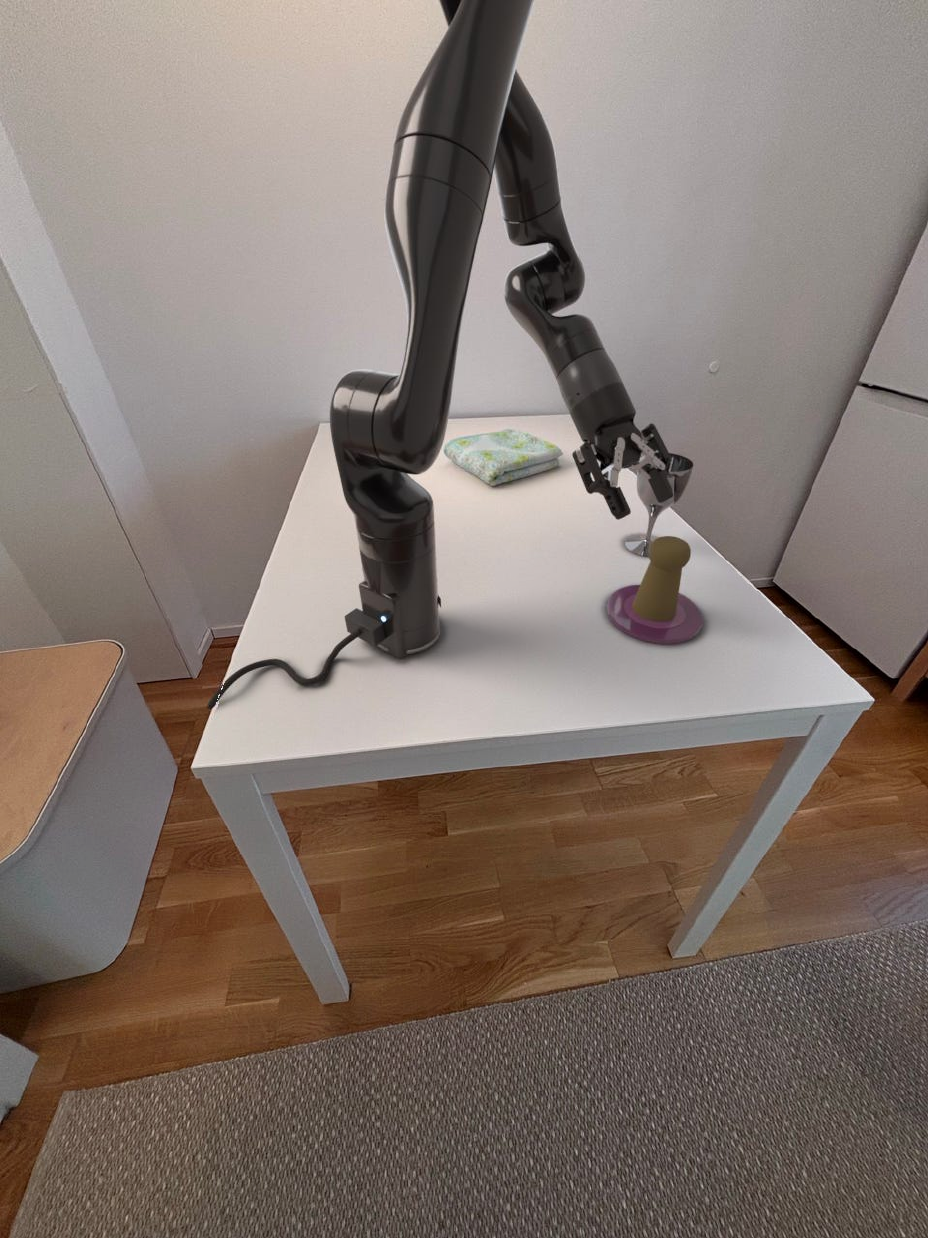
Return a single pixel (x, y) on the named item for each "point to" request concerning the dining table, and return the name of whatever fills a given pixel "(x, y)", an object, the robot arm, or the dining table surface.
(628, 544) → the wine glass
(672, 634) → the saucer
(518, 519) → the dining table surface
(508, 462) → the towel
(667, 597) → the cork
